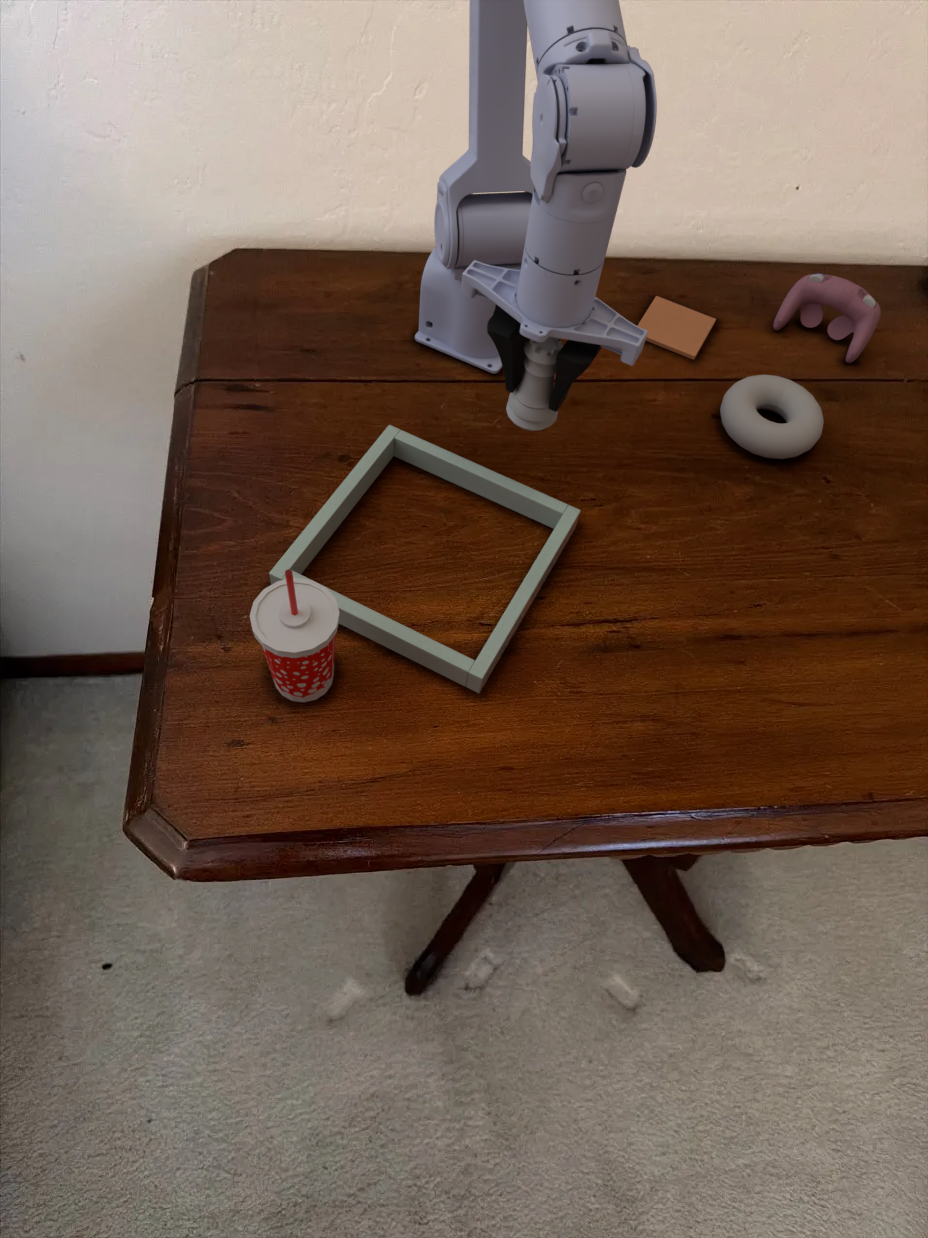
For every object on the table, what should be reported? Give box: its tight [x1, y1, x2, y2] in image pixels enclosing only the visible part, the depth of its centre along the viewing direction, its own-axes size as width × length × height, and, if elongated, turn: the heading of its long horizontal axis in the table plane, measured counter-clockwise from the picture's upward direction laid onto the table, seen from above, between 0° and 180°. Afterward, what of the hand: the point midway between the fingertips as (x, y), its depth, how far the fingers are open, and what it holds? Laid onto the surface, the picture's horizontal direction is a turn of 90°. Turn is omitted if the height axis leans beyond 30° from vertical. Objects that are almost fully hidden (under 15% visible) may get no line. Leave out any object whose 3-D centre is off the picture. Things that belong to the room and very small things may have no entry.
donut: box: [719, 374, 825, 460], centre depth 86 cm, size 10×3×10 cm
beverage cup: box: [249, 569, 340, 703], centre depth 62 cm, size 6×6×14 cm
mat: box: [636, 295, 717, 361], centre depth 94 cm, size 7×7×1 cm
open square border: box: [268, 424, 582, 694], centre depth 74 cm, size 19×19×2 cm
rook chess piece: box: [505, 337, 564, 432], centre depth 72 cm, size 4×4×8 cm
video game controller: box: [772, 272, 882, 364], centre depth 94 cm, size 10×5×7 cm, turn 58°
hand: (535, 393), depth 73 cm, fingers closed on rook chess piece, 3 cm apart
